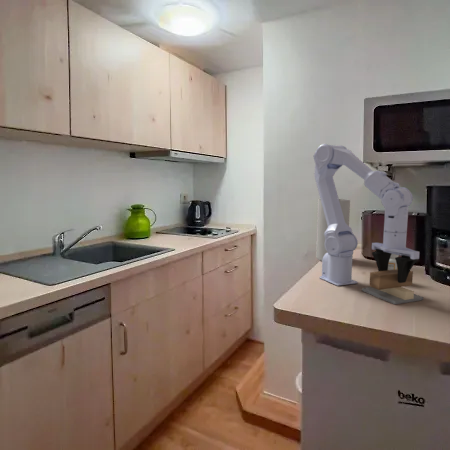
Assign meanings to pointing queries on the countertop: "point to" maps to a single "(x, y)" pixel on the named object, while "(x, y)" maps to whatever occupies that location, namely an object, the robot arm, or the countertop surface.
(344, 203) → the cylinder vase
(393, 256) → the supplement bottle
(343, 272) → the robot arm
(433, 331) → the countertop surface
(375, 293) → the board
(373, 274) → the walnut bar
